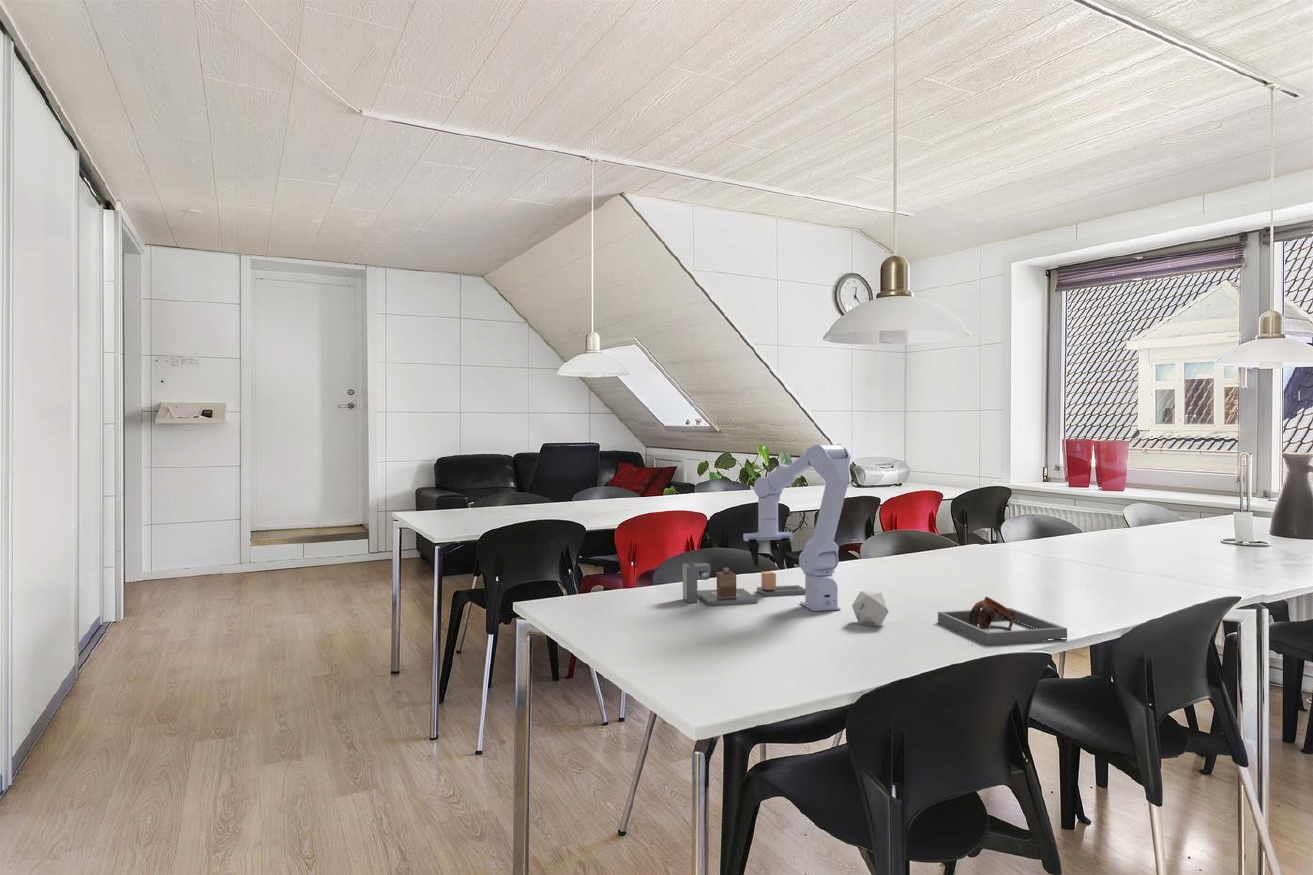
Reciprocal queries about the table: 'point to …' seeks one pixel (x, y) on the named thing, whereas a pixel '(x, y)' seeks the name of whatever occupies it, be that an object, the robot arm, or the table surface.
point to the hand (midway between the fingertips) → (768, 564)
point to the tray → (1042, 632)
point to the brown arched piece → (988, 613)
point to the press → (709, 595)
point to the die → (870, 608)
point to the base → (782, 591)
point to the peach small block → (768, 580)
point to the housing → (726, 583)
